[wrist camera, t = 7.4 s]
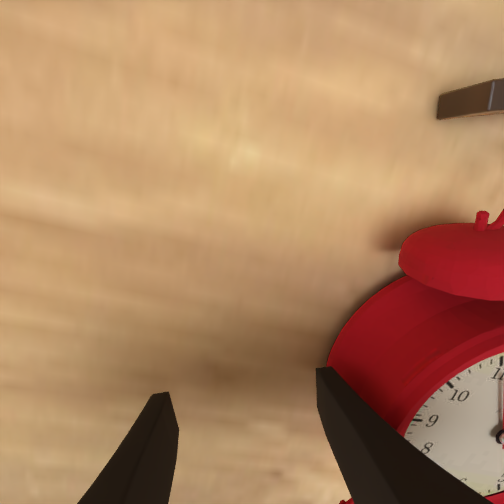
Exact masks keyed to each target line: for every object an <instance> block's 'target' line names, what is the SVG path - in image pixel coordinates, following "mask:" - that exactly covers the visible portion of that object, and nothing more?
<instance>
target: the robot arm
mask: <svg viewBox="0 0 504 504" xmlns="http://www.w3.org/2000/svg"><path fill="white" fill-rule="evenodd" d="M316 388H317V408H318V411H319V415H320V418H321V421H322V425H323V428H324V431H325V434H326V437H327V439H328V442H329V444H330V446H331V449H332V451H333V454H334V456H335V459H336V461H337V463H338V466H339V468H340V471H341V473H342V475H343V478H344V480H345V482H346V485H347V487H348V490H349V492H350V494H351V497H352V499H353V502H354V504H494V503H492V502H491V501H489V500H488V499H486V498H485V497H483V496H482V495H480V494H479V493H478V492H476V491H475V490H473V489H472V488H470V487H469V486H467V485H466V484H465V483H463V482H462V481H460V480H459V479H457V478H456V477H454V476H453V475H452V474H450V473H449V472H447V471H446V470H445V469H443V468H442V467H441V466H439V465H438V464H437V463H435V462H434V461H433V460H431V459H430V458H429V457H427V456H426V455H425V454H424V453H422V452H421V451H420V450H419V449H417V448H416V447H415V446H414V445H412V444H411V443H410V442H409V441H408V440H406V439H405V438H404V437H403V436H402V435H400V434H399V433H398V432H397V431H396V430H395V429H394V428H392V427H391V426H390V425H389V424H388V423H387V422H386V421H385V420H384V419H383V418H381V417H380V416H379V415H378V414H377V413H376V412H375V411H374V410H373V409H372V408H371V407H370V406H369V405H368V404H367V403H366V402H365V401H364V400H363V399H362V398H361V397H360V396H359V395H358V394H357V393H356V392H355V391H354V390H353V389H352V388H351V387H350V386H349V385H348V384H347V383H346V381H345V380H344V379H343V378H342V377H341V376H340V375H339V374H338V373H337V371H336V370H335V369H334V368H333V367H331V366H328V367H321V368H316ZM178 436H179V427H178V424H177V420H176V416H175V413H174V409H173V405H172V402H171V398H170V394H169V392H163V393H156V394H153V395H152V396H151V397H150V399H149V400H148V402H147V403H146V405H145V407H144V408H143V410H142V412H141V413H140V415H139V416H138V418H137V420H136V421H135V423H134V424H133V426H132V427H131V429H130V431H129V432H128V434H127V435H126V437H125V438H124V440H123V441H122V443H121V444H120V446H119V447H118V449H117V450H116V452H115V453H114V455H113V456H112V457H111V459H110V460H109V462H108V463H107V464H106V466H105V467H104V469H103V470H102V471H101V473H100V474H99V476H98V477H97V478H96V480H95V481H94V482H93V484H92V485H91V486H90V488H89V489H88V490H87V492H86V493H85V494H84V496H83V497H82V498H81V499H80V501H79V502H78V503H77V504H168V502H169V497H170V492H171V486H172V481H173V476H174V470H175V465H176V459H177V448H178Z"/></svg>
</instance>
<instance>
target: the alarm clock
mask: <svg viewBox="0 0 504 504" xmlns="http://www.w3.org/2000/svg"><path fill="white" fill-rule="evenodd" d="M488 218H489V213H488V212H487V211H479V212H477V215H476V221H475V223H452V224H442V225H434V226H431V227H428V228H424V229H421V230H419V231H417V232H415V233H413V234H411V235H410V236H409V237H408V238H407V239H406V240H405V241H404V242H403V244H402V247H401V251H400V254H399V262H398V265H399V266H400V267H401V268H402V270H403V271H404V272H405V273H406V274H407V275H406V276H404V277H402V278H400V279H398V280H396V281H394V282H393V283H391V284H389V285H388V286H386V287H384V288H383V289H381V290H380V291H379V292H377V293H376V294H375V295H373V296H372V297H371V298H370V299H368V300H367V301H366V302H365V303H364V304H363V305H362V306H361V307H360V308H359V309H358V310H357V311H356V312H355V313H354V314H353V316H352V317H351V318H350V319H349V320H348V322H347V323H346V324H345V326H344V327H343V328H342V330H341V332H340V333H339V335H338V337H337V339H336V341H335V343H334V345H333V347H332V349H331V352H330V354H329V357H328V361H327V365H326V367H328V366H331V367H333V368H334V369H335V370H336V371H337V373H338V374H339V375H340V376H341V377H342V378H343V379H344V380H345V381H346V383H347V384H348V385H349V386H350V387H351V388H352V389H353V390H354V391H355V392H356V393H357V394H358V395H359V396H360V397H361V398H362V399H363V400H364V401H365V402H366V403H367V404H368V405H369V406H370V407H371V408H372V409H373V410H374V411H375V412H376V413H377V414H378V415H379V416H380V417H381V418H383V419H384V420H385V421H386V422H387V423H388V424H389V425H390V426H391V427H392V428H394V429H395V430H396V431H397V432H398V433H399V434H400V435H402V436H403V437H404V438H405V439H406V440H408V441H409V442H410V443H411V444H412V445H414V446H415V447H416V448H417V449H419V450H420V451H421V452H422V453H424V454H425V455H426V456H427V457H429V458H430V459H431V460H433V461H434V462H435V463H437V464H438V465H439V466H441V467H442V468H443V469H445V470H446V471H447V472H449V473H450V474H452V475H453V476H454V477H456V478H457V479H459V480H460V481H462V482H463V483H465V484H466V485H467V486H469V487H470V488H472V489H473V490H475V491H476V492H478V493H479V494H480V495H482V496H483V497H485V498H486V499H488V500H489V501H491V502H492V503H494V504H504V226H503V225H504V209H503V211H502V212H501V214H500V215H499V217H498V218H497V220H496V221H495V222H493V223H492V224H487V223H488ZM339 504H354V502H353V499H352V498H350V499H349V500H348V501H347V502H345V501H344V500H342V501H340V503H339Z"/></svg>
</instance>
